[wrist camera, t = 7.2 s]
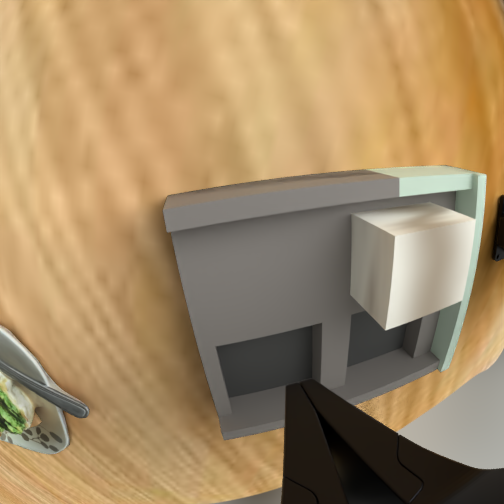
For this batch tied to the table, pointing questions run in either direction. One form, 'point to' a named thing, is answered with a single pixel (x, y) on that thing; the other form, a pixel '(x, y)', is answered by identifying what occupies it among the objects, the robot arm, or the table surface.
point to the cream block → (409, 261)
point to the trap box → (305, 287)
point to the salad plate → (32, 400)
